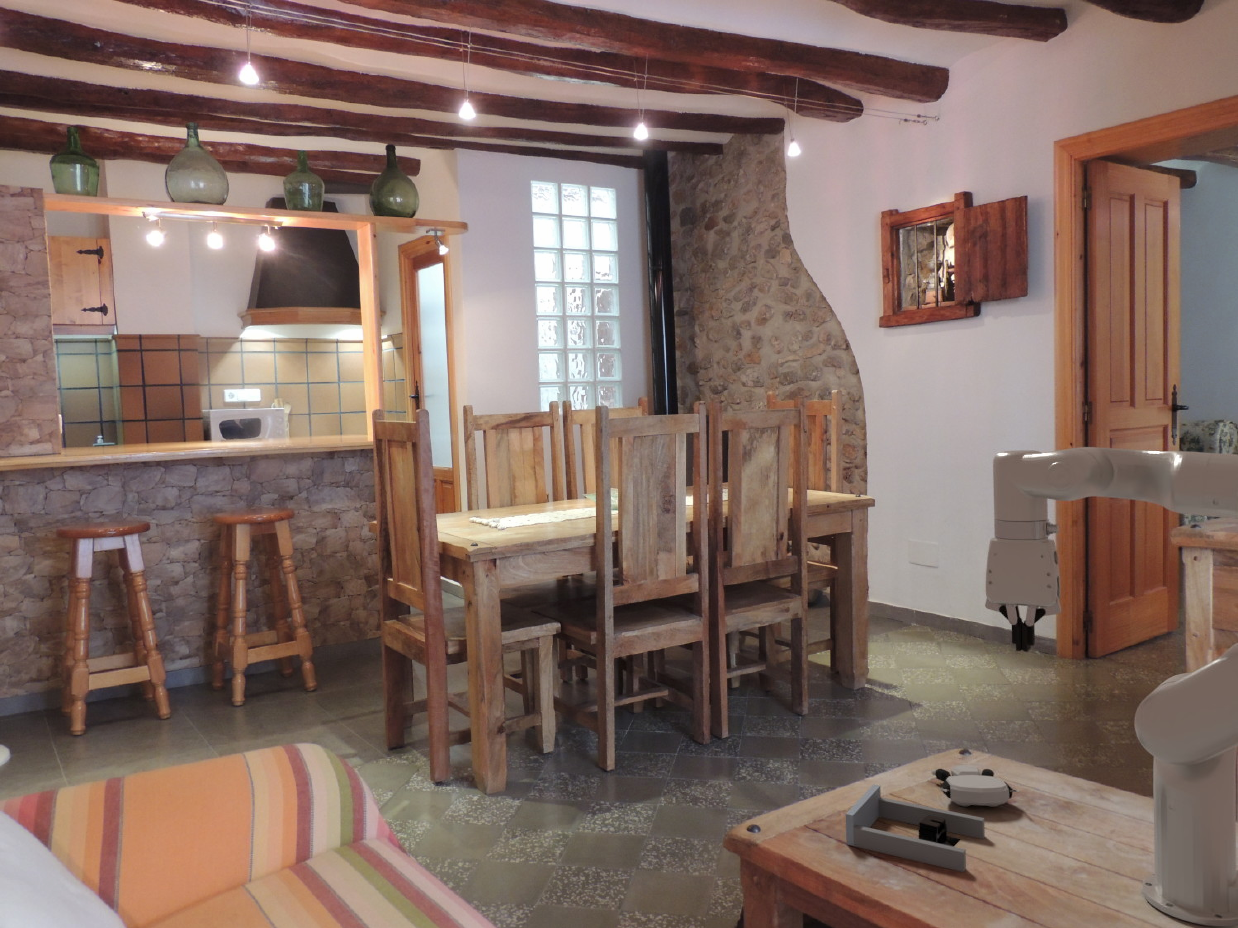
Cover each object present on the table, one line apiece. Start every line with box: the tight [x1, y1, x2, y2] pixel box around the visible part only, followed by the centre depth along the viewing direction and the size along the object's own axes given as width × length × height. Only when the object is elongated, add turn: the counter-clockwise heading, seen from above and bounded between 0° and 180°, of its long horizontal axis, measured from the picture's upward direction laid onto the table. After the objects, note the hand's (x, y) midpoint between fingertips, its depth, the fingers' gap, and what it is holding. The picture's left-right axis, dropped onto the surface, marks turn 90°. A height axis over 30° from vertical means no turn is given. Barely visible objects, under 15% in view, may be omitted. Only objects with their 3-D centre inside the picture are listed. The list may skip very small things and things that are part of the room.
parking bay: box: [845, 784, 986, 873], centre depth 145 cm, size 18×14×5 cm
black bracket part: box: [918, 815, 961, 847], centre depth 144 cm, size 12×7×5 cm, turn 139°
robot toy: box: [930, 764, 1020, 808], centre depth 161 cm, size 12×4×15 cm
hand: (1023, 649), depth 138 cm, fingers closed
